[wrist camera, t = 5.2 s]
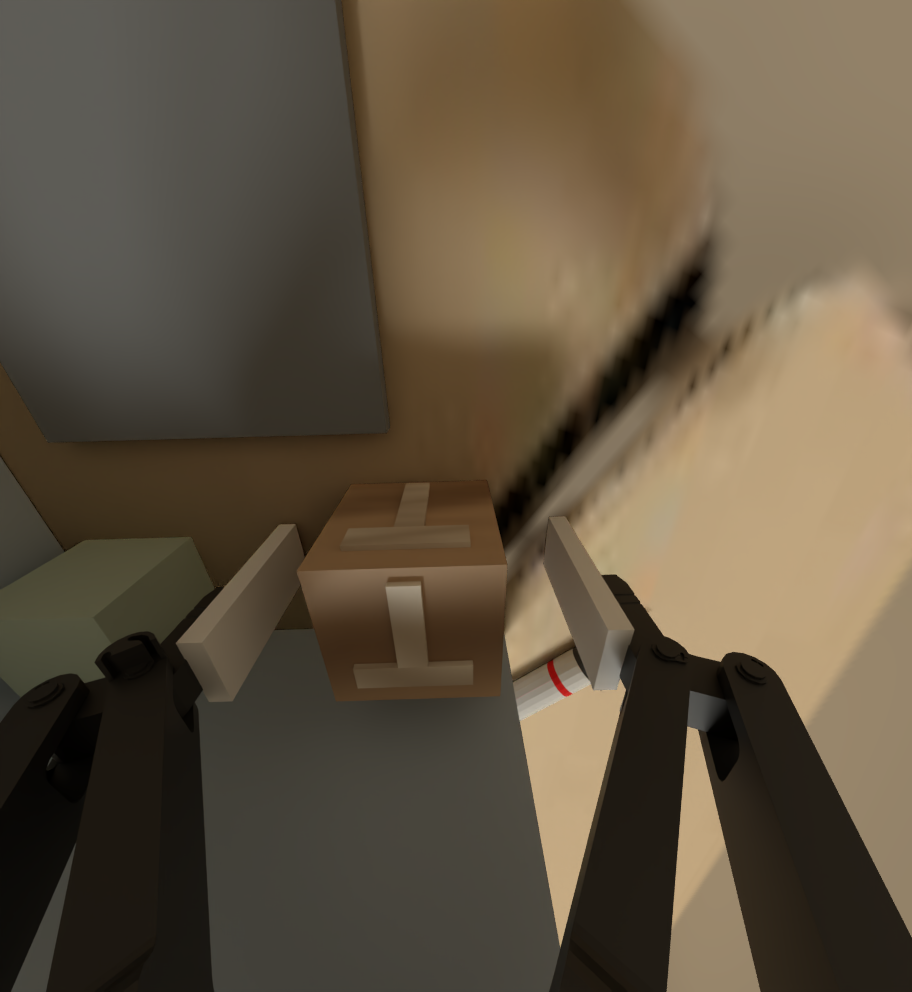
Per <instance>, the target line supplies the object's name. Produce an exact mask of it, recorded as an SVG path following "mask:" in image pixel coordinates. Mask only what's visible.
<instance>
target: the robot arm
mask: <svg viewBox="0 0 912 992" xmlns="http://www.w3.org/2000/svg"><path fill="white" fill-rule="evenodd" d="M304 559H305V556H304V552H303V549H302V545H301V542H300V538H299V534H298V531H297V527H296V524H279V525H278V527H277V528H276V529H275V530H274V531H273V532H272V533H271V535H270V536H269V537H268V538H267V539H266V540H265V541H264V543H263V544H262V545H261V546H260V547H259V548H258V549H257V551H256V552H255V553H254V554H253V555H252V556H251V558H250V559H249V560H248V561H247V562H246V563H245V564H244V566H243V567H242V568H241V569H240V570H239V571H238V572H237V574H236V575H235V576H234V577H233V578H232V579H231V580H230V582H229V583H228V584H227V585H226V586H225V587H217V588H216V589H214V590H213V591H211V592H210V593H208V594H207V595H206V596H204V597H203V598H202V599H201V600H200V601H199V603H198V604H197V605H196V606H195V607H194V610H191V611H190V612H189V613H188V614H187V616H186V618H185V619H183V620H182V621H181V622H180V623H179V624H178V625H177V626H176V628H175V629H174V630H173V631H172V632H171V633H170V634H169V635H168V636H167V637H166V638H165V640H164V641H163V642H162V643H161V644H160V643H159V641H158V640H157V638H156V636H155V635H154V633H151V632H149V631H145V632H137V633H133V634H130V635H127V636H125V637H123V638H121V639H119V640H117V641H115V642H114V643H112V644H111V645H109V646H108V647H106V648H105V649H104V650H103V651H102V652H101V653H100V654H99V655H98V657H97V659H96V660H95V662H94V663H95V664H96V665H97V667H98V668H99V669H100V671H101V672H102V673H103V675H104V676H105V678H101V679H98V680H94V681H90V682H87V683H84V682H83V681H82V680H81V678H80V677H79V676H78V675H77V674H72V673H69V674H63V675H59V676H56V677H54V678H51V679H48V680H46V681H45V682H42V683H41V684H39V685H37V686H35V687H34V688H32V689H31V690H30V691H28V692H27V693H26V694H24V695H23V696H22V697H21V698H20V699H19V700H18V701H17V702H16V703H15V704H14V705H13V706H12V708H11V709H10V710H9V712H8V713H7V714H6V716H5V717H4V718H3V720H2V721H1V722H0V992H11V990H12V988H13V986H14V984H15V981H16V979H17V977H18V974H19V972H20V970H21V968H22V965H23V963H24V961H25V958H26V956H27V954H28V951H29V949H30V947H31V945H32V942H33V940H34V938H35V935H36V933H37V931H38V929H39V926H40V924H41V922H42V919H43V917H44V915H45V912H46V910H47V908H48V906H49V903H50V901H51V899H52V896H53V894H54V892H55V890H56V887H57V885H58V883H59V880H60V878H61V876H62V873H63V871H64V869H65V867H66V864H67V862H68V860H69V857H70V855H71V853H72V851H73V848H74V846H75V844H76V846H75V851H74V856H73V861H72V866H71V871H70V876H69V880H68V885H67V890H66V895H65V900H64V905H63V910H62V915H61V920H60V925H59V930H58V935H57V939H56V944H55V949H54V954H53V959H52V964H51V969H50V974H49V979H48V984H47V989H46V992H214V988H213V980H212V965H211V945H210V926H209V906H208V887H207V867H206V848H205V828H204V809H203V789H202V770H201V751H200V731H199V712H198V708H197V705H196V703H195V701H196V700H197V698H198V697H199V695H200V694H201V692H202V691H203V692H204V694H205V696H206V698H207V699H208V701H209V702H229V701H233V700H234V698H235V696H236V694H237V693H238V691H239V689H240V688H241V686H242V684H243V682H244V681H245V679H246V677H247V676H248V674H249V672H250V670H251V669H252V667H253V665H254V664H255V662H256V660H257V658H258V657H259V655H260V653H261V652H262V650H263V648H264V646H265V645H266V643H267V641H268V640H269V638H270V636H271V634H272V633H273V631H274V629H275V628H276V626H277V624H278V622H279V621H280V619H281V617H282V616H283V614H284V612H285V610H286V609H287V607H288V605H289V604H290V602H291V600H292V598H293V597H294V595H295V593H296V592H297V590H298V588H299V586H300V585H301V584H300V581H299V578H298V574H297V570H298V568H299V567H300V565H301V563H302V562H303V560H304ZM543 564H544V567H545V569H546V572H547V574H548V577H549V579H550V582H551V584H552V587H553V589H554V592H555V595H556V597H557V600H558V602H559V605H560V607H561V610H562V612H563V615H564V617H565V620H566V622H567V625H568V627H569V630H570V632H571V635H572V637H573V640H574V642H575V645H576V648H577V650H578V653H579V655H580V658H581V660H582V663H583V665H584V668H585V670H586V673H587V675H588V678H589V680H590V683H591V685H592V688H593V690H617V687H618V683H619V680H620V678H621V680H622V683H623V685H624V687H625V689H626V692H625V695H624V698H623V702H622V705H621V708H620V715H619V719H618V723H617V727H616V731H615V735H614V739H613V743H612V746H611V750H610V754H609V758H608V762H607V766H606V770H605V774H604V778H603V782H602V786H601V790H600V794H599V798H598V802H597V806H596V810H595V814H594V818H593V822H592V826H591V829H590V833H589V837H588V841H587V845H586V849H585V853H584V857H583V861H582V865H581V869H580V873H579V877H578V881H577V885H576V889H575V893H574V897H573V901H572V905H571V909H570V913H569V916H568V920H567V924H566V928H565V932H564V936H563V940H562V944H561V948H560V952H559V956H558V960H557V964H556V968H555V972H554V975H553V979H552V983H551V986H550V990H549V992H666V991H667V990H666V989H667V978H668V965H669V953H670V940H671V927H672V915H673V902H674V889H675V876H676V863H677V851H678V838H679V825H680V812H681V800H682V787H683V774H684V761H685V748H686V736H687V726H688V727H691V728H695V729H698V731H699V735H700V740H701V744H702V748H703V752H704V756H705V761H706V765H707V769H708V773H709V777H710V781H711V786H712V790H713V794H714V798H715V802H716V807H717V811H718V815H719V819H720V823H721V827H722V832H723V836H724V840H725V844H726V848H727V853H728V857H729V861H730V865H731V869H732V874H733V878H734V882H735V886H736V890H737V894H738V898H739V903H740V907H741V911H742V915H743V919H744V924H745V928H746V932H747V936H748V941H749V945H750V948H751V953H752V957H753V961H754V965H755V969H756V974H757V978H758V982H759V987H760V991H761V992H912V937H911V935H910V933H909V931H908V929H907V928H906V925H905V923H904V921H903V920H902V918H901V916H900V914H899V912H898V910H897V908H896V906H895V904H894V902H893V900H892V898H891V896H890V894H889V892H888V890H887V888H886V886H885V884H884V882H883V880H882V878H881V876H880V874H879V872H878V870H877V868H876V866H875V864H874V862H873V861H872V858H871V856H870V854H869V852H868V850H867V848H866V846H865V845H864V842H863V841H862V839H861V837H860V835H859V833H858V831H857V829H856V827H855V825H854V823H853V821H852V819H851V817H850V815H849V813H848V811H847V809H846V807H845V805H844V803H843V801H842V799H841V797H840V795H839V793H838V791H837V789H836V787H835V785H834V783H833V781H832V779H831V777H830V775H829V774H828V772H827V770H826V767H825V765H824V764H823V762H822V760H821V758H820V756H819V754H818V752H817V750H816V748H815V746H814V744H813V742H812V740H811V738H810V736H809V734H808V732H807V730H806V728H805V726H804V724H803V722H802V720H801V718H800V716H799V714H798V712H797V710H796V708H795V706H794V704H793V702H792V700H791V698H790V696H789V694H788V692H787V690H786V688H785V686H784V684H783V682H782V681H781V679H780V678H779V676H778V675H777V674H776V672H775V671H774V670H773V669H771V668H770V667H769V666H768V665H767V664H765V663H764V662H762V661H760V660H758V659H757V658H755V657H752V656H750V655H747V654H744V653H737V652H732V653H728V654H726V655H725V656H724V657H723V659H722V661H721V662H719V661H714V660H710V659H706V658H702V657H697V656H694V655H691V654H689V653H688V652H687V651H686V649H685V648H684V647H682V646H681V645H680V644H679V643H678V642H676V641H674V640H672V639H670V638H668V637H665V636H663V634H662V633H661V631H660V630H659V629H658V627H657V626H656V624H655V623H654V621H653V620H652V618H651V617H650V616H649V614H648V613H647V611H646V610H645V608H644V607H643V606H642V604H640V601H639V600H638V598H637V597H636V596H635V595H634V593H633V591H632V590H631V588H630V587H629V585H628V584H627V583H626V582H625V581H623V580H622V579H621V578H619V577H618V576H617V575H601V574H600V572H599V571H598V569H597V568H596V566H595V564H594V563H593V561H592V559H591V558H590V556H589V554H588V553H587V551H586V550H585V548H584V546H583V545H582V543H581V541H580V540H579V538H578V537H577V535H576V533H575V532H574V530H573V528H572V527H571V525H570V523H569V522H568V520H567V519H566V517H565V516H557V517H549V519H548V528H547V537H546V546H545V554H544V563H543ZM51 757H52V760H51V762H50V763H49V761H50V759H51ZM48 763H49V765H48Z"/></svg>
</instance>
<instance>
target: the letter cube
mask: <svg viewBox="0 0 912 992" xmlns="http://www.w3.org/2000/svg"><path fill="white" fill-rule="evenodd" d="M297 574H298V578H299V581H300V584H301V587H302V591H303V594H304V597H305V601H306V604H307V607H308V611H309V614H310V617H311V621H312V624H313V627H314V630H315V634H316V637H317V640H318V644H319V647H320V650H321V654H322V657H323V660H324V664H325V667H326V670H327V673H328V677H329V680H330V683H331V687H332V690H333V693H334V697H335V700H336V701H367V700H398V699H429V698H460V697H491V696H500V693H501V674H502V656H503V637H504V618H505V600H506V581H507V561H506V557H505V553H504V549H503V545H502V540H501V536H500V532H499V528H498V524H497V520H496V516H495V512H494V507H493V503H492V499H491V495H490V491H489V487H488V483H487V480H475V481H442V482H410V483H377V484H351V485H350V487H349V489H348V490H347V492H346V493H345V495H344V497H343V498H342V500H341V501H340V503H339V505H338V506H337V508H336V509H335V511H334V512H333V514H332V516H331V517H330V519H329V520H328V522H327V524H326V525H325V527H324V528H323V530H322V532H321V533H320V535H319V536H318V538H317V540H316V541H315V543H314V544H313V546H312V548H311V549H310V551H309V552H308V554H307V555H306V557H305V559H304V560H303V562H302V563H301V565H300V567H299V568H298V570H297Z"/></svg>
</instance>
